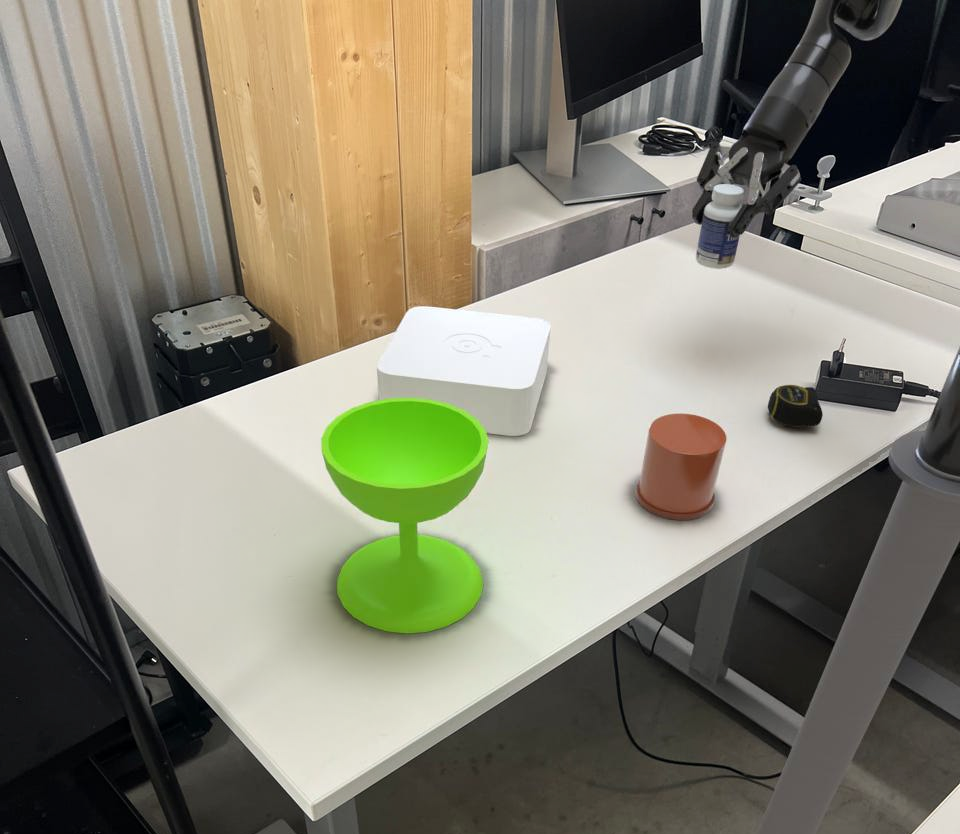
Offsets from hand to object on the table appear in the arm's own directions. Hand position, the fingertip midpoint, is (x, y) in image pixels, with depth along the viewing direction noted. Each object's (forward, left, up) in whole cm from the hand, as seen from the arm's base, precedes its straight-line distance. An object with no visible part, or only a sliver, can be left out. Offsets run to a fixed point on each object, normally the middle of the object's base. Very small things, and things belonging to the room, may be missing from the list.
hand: (714, 227), depth 125 cm
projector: (+9, +33, -20) cm, 40 cm away
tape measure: (-20, -3, -20) cm, 28 cm away
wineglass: (-24, +60, -20) cm, 68 cm away
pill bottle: (0, -2, -5) cm, 6 cm away
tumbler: (-26, +24, -20) cm, 41 cm away
